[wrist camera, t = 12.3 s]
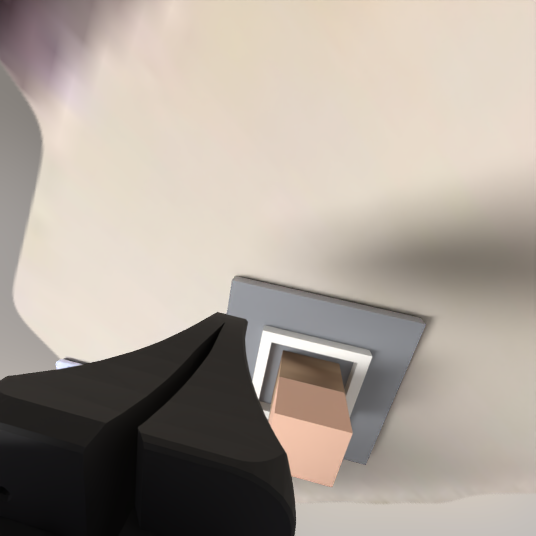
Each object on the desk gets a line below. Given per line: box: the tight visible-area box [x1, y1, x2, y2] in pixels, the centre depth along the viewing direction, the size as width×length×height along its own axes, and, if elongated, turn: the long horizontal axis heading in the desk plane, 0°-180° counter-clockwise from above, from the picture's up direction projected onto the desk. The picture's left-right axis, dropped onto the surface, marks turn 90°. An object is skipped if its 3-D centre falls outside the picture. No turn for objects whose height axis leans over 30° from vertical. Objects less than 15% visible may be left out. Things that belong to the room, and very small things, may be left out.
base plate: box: [227, 276, 426, 465], centre depth 21 cm, size 14×14×2 cm
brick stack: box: [268, 350, 353, 487], centre depth 18 cm, size 4×4×6 cm
